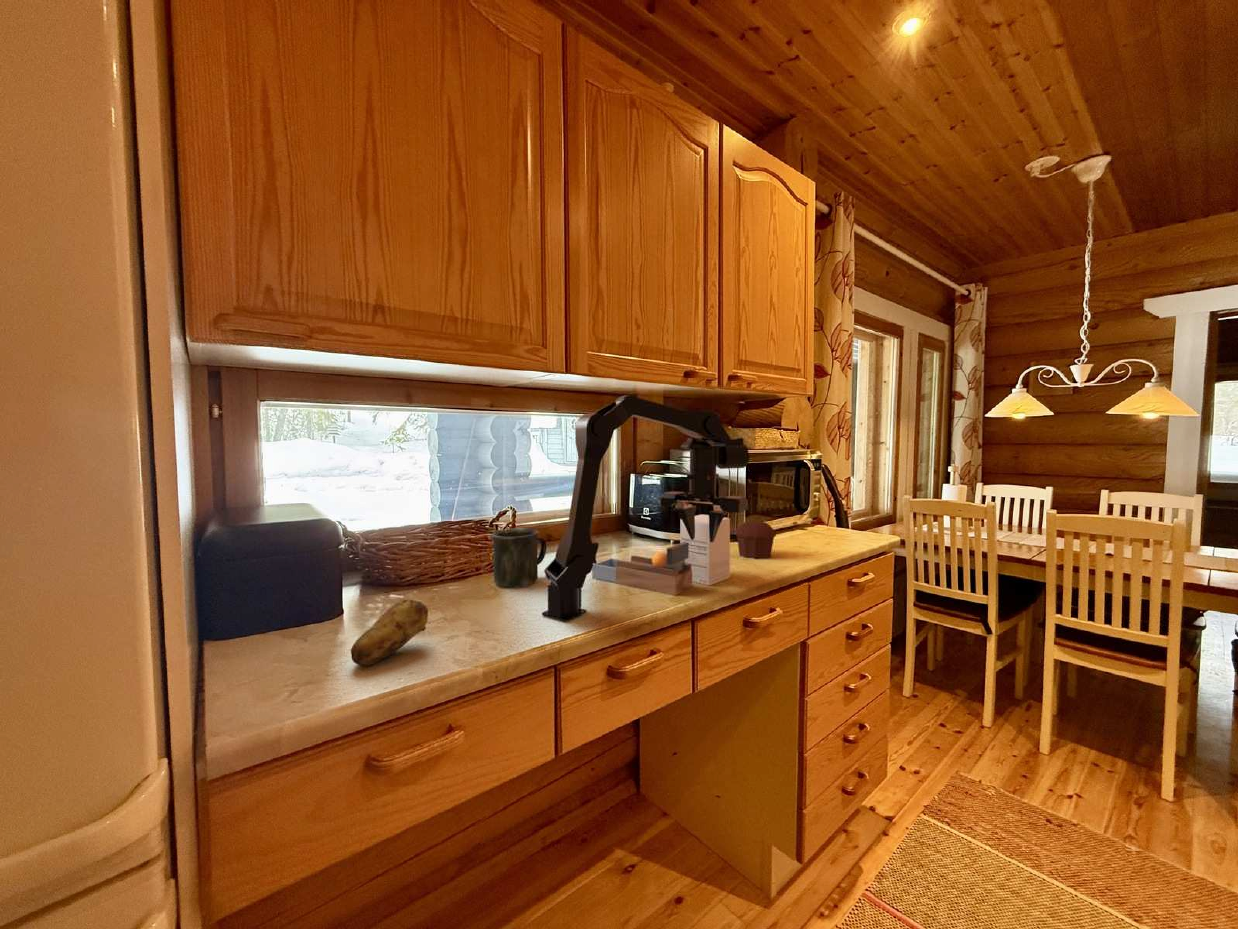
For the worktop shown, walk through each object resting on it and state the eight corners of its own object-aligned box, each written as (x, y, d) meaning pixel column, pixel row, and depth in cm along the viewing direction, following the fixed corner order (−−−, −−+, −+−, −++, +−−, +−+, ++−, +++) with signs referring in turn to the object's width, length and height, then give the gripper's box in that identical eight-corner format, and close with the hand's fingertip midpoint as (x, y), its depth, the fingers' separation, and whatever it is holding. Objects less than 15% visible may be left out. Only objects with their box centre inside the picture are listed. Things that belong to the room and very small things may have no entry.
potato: (338, 659, 83) (337, 609, 82) (418, 636, 92) (417, 591, 92) (357, 676, 77) (355, 623, 77) (440, 650, 86) (439, 602, 86)
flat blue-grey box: (618, 583, 124) (618, 569, 123) (592, 578, 128) (592, 564, 128) (635, 576, 130) (635, 562, 130) (610, 571, 134) (610, 558, 134)
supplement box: (700, 571, 134) (701, 513, 133) (730, 578, 128) (731, 517, 127) (678, 578, 128) (679, 518, 127) (709, 586, 122) (710, 522, 121)
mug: (482, 582, 125) (482, 532, 124) (531, 570, 135) (531, 524, 135) (510, 592, 117) (509, 539, 117) (559, 578, 128) (559, 530, 127)
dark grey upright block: (671, 575, 115) (671, 548, 115) (661, 574, 116) (661, 547, 116) (688, 568, 122) (688, 542, 121) (678, 566, 123) (679, 541, 123)
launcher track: (675, 595, 115) (675, 572, 114) (615, 583, 124) (615, 561, 124) (691, 586, 121) (692, 564, 121) (634, 575, 130) (634, 555, 130)
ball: (664, 572, 118) (664, 555, 118) (648, 570, 121) (648, 552, 120) (672, 568, 122) (672, 551, 121) (657, 566, 124) (657, 549, 124)
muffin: (726, 554, 153) (727, 520, 152) (749, 549, 160) (750, 516, 159) (761, 562, 144) (761, 526, 143) (783, 556, 151) (784, 521, 150)
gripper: (757, 469, 115) (756, 539, 116) (682, 466, 126) (681, 530, 127) (738, 472, 106) (737, 548, 107) (658, 468, 117) (658, 538, 118)
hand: (702, 540), depth 115 cm, fingers open, 4 cm apart
